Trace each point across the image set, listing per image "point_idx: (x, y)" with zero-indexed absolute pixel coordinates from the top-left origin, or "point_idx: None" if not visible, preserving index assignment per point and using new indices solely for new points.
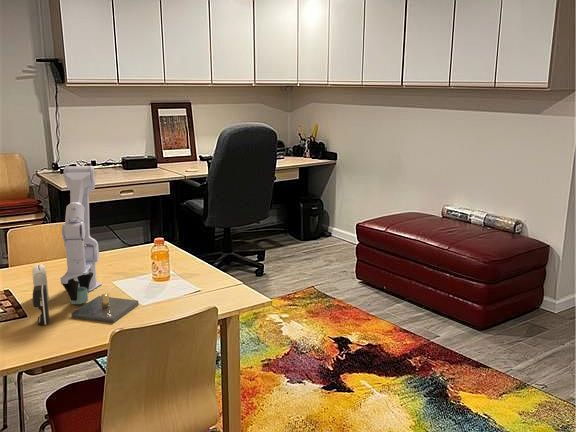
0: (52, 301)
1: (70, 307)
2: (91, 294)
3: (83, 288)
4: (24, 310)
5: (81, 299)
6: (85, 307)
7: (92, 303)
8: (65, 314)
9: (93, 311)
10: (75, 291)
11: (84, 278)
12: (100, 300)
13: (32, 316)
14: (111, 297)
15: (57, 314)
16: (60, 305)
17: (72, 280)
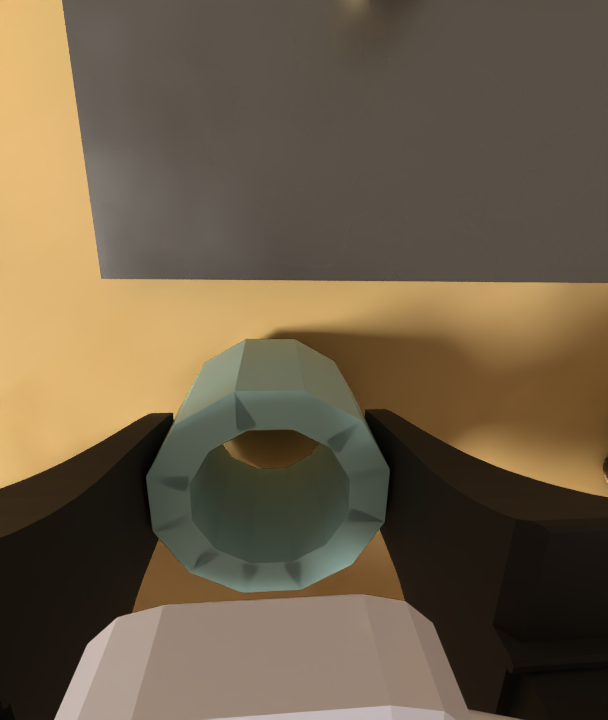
0: None
1: None
2: (25, 439)
3: (195, 472)
4: None
5: (334, 372)
6: (476, 218)
7: (346, 208)
8: (531, 371)
9: (587, 28)
10: (465, 455)
11: (72, 609)
12: (227, 162)
13: None
14: (72, 58)
15: (536, 433)
16: None
17: (591, 685)
